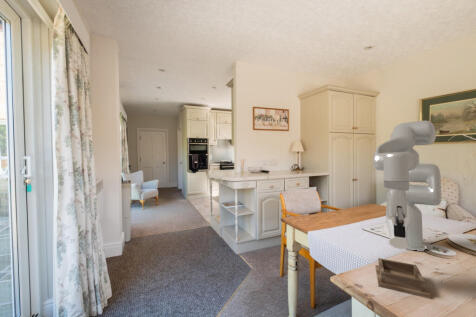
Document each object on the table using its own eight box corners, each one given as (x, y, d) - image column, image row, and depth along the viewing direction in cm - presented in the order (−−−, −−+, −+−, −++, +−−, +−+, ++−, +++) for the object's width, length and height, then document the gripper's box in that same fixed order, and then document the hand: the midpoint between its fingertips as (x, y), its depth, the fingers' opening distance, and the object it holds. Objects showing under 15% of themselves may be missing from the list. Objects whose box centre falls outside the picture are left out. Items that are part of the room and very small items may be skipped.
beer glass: (415, 250, 71) (413, 207, 71) (393, 249, 73) (391, 207, 73) (403, 242, 78) (402, 203, 78) (383, 241, 79) (382, 203, 80)
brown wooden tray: (375, 267, 85) (375, 256, 85) (419, 276, 78) (418, 264, 78) (378, 286, 73) (378, 273, 73) (430, 298, 66) (430, 284, 66)
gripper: (381, 182, 85) (383, 225, 85) (386, 188, 70) (388, 240, 70) (404, 183, 81) (406, 228, 81) (415, 189, 66) (417, 244, 66)
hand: (397, 233), depth 75 cm, fingers closed on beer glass, 6 cm apart
